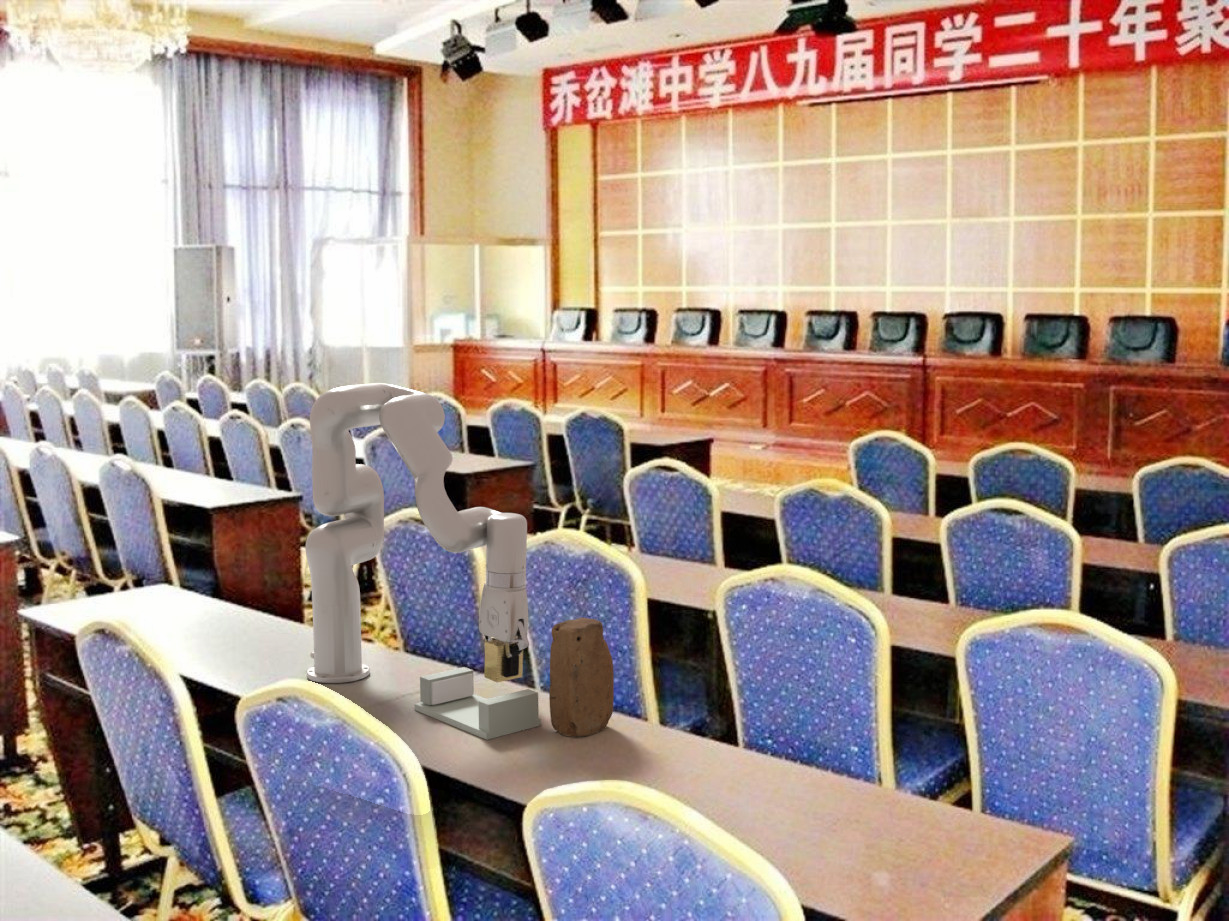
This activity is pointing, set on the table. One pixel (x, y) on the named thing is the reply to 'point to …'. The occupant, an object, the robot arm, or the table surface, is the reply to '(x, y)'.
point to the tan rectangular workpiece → (498, 661)
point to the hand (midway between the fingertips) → (503, 671)
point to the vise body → (488, 713)
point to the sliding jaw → (446, 686)
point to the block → (580, 678)
